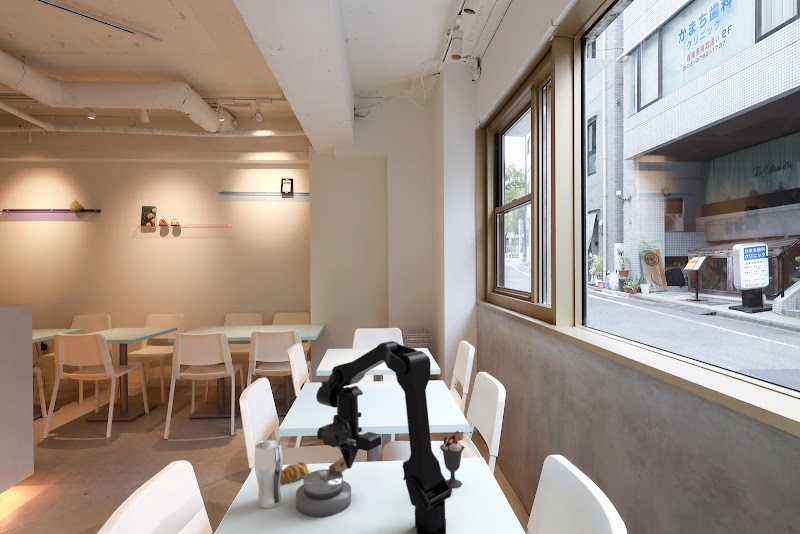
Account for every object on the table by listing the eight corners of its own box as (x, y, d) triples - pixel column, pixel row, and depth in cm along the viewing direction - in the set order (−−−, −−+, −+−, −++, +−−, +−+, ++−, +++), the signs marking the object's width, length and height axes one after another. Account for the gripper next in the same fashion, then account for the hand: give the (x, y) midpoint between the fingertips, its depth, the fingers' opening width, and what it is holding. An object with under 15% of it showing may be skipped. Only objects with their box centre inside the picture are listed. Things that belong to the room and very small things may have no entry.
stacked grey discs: (356, 489, 126) (355, 478, 126) (344, 518, 112) (344, 505, 112) (305, 488, 128) (305, 477, 128) (288, 516, 114) (287, 503, 114)
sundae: (465, 490, 124) (463, 434, 124) (439, 489, 126) (438, 433, 125) (465, 479, 131) (464, 425, 131) (441, 477, 132) (440, 424, 132)
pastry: (282, 488, 128) (281, 474, 128) (270, 481, 133) (270, 467, 133) (311, 477, 135) (311, 464, 135) (299, 470, 140) (298, 457, 140)
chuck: (328, 502, 113) (327, 482, 113) (295, 494, 118) (295, 475, 118) (364, 473, 128) (364, 456, 128) (334, 467, 133) (333, 450, 133)
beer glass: (249, 506, 119) (248, 447, 119) (269, 493, 125) (267, 437, 125) (270, 512, 116) (268, 451, 116) (289, 499, 122) (287, 441, 122)
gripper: (301, 413, 126) (303, 471, 126) (353, 424, 115) (355, 488, 115) (330, 403, 135) (332, 457, 135) (381, 412, 124) (383, 471, 124)
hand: (349, 468), depth 127 cm, fingers closed
